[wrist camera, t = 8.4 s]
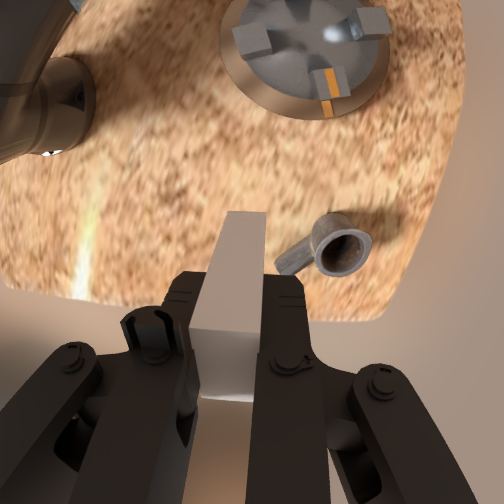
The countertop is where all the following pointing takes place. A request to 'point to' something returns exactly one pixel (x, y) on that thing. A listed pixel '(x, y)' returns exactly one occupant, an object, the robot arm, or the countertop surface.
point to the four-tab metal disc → (311, 44)
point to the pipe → (328, 248)
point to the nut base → (285, 103)
